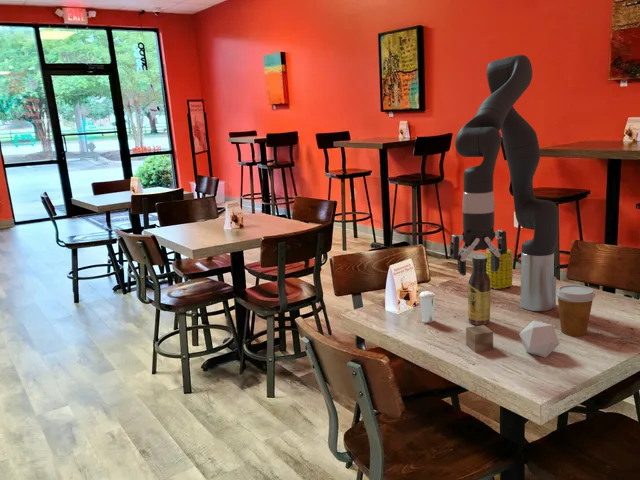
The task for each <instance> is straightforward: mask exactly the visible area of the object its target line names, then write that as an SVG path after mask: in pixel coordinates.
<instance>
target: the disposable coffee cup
mask: <svg viewBox="0 0 640 480" xmlns="http://www.w3.org/2000/svg"><path fill="white" fill-rule="evenodd" d="M595 297H596V294H595V293H594V290H593V288H591V287H589V286H585V285H579V284H564V285H560V286H558V288H557V289H556V298H557V304H558V305H557V306H558V313H559V323H560V331H561V333H563V334H564V335H567V336H570V337H571V336H572V337H582V336H585V335H587V333H588V327H589V322H590V316H591V310H592V306H593V302H594V299H595Z"/></svg>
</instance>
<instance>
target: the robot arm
mask: <svg viewBox="0 0 640 480" xmlns="http://www.w3.org/2000/svg"><path fill="white" fill-rule="evenodd" d="M486 79H487V84H488V89H489V93H490V95H489V96H488V97H486V98H485V99H484V100H483V101H482V103H481V104H480V106H479V108H478V110H477V112H476V113H475V116H473V117H472V118H471V119H469V121H467V122H466V123H465V124H464V125H463V126H462V127H461V128H460V130H458V132H457V135H456V137H455V141H454V146H455V150H456V152H457V153H458V155H460V156H462V157H464V158H482V161H481V163H480V164H479V165H475V166H471V167H467V168H465V169H464V172H463V177H462V178H463V194H462V234H454V233H452V234H451V235H450V242H449V245H450V247H449V257H450V258H451V259H454V260H456V261H457V272H458V273H459V274H460V275H461V276H466V275H467V261H466V259H467V258H468V257H469V255H471V254H472V252H473V251H474V252H476V251H477V252H478V251H480V250H482V251H487V250H489V252H490V253H491V254H492V256H491V270H492V271H494V272H497V271H498V269H499V258H500V256H501V255H502V254H506V253H507V249H508V247H507V246H508V242H507V239H508V238H507V232H506V230H503V229H500V228H499V229H497V230H494V228H495V207H496V205H495V196H494V174H495V173H494V172H495V168H496V164H497V159H498V156H499V153H500V150H501V145H503V149H504V153H505V158H506V162H507V165H508V170H509V176H510V182H511V187H512V194H513V195H512V197H513V206H514V215H515V219H516V221H517V223H518V225H519V226H520V227H521V228H523V229H527V230H533V231H534V232H533V238H532V239H529V240H525V241H523V242H522V243H521V247H520V248H521V250H520V251H521V252H520V253H521V255H520V256H521V257H520V259H521V262H520V307H521V308H523V310H524V309H525V310H527V311H532V312H533V311H534V312H546V311H549V310H550V311H551V310H552V309H554V308H555V309H556V307H557V306H556V305H557V295H556V292H557V277H556V276H554V270H555V269H554V268H555V265H554V264H555V262H554V261H555V247H556V245H557V240H558V232H559V221H560V220H559V219H560V215H559V214H560V213H559V208H558V206H557V204H556V203H555V202H554V201H552V200H548V199H547V200H546V199H537V198H536V195H535V191H534V184H533V183H534V182H533V180H534V177H535V174H536V171H537V168H538V166H539V163H540V159H541V149H540V144H539V139H538V135H537V133H536V131H535V129H534V128H533V127H532V125H531V124H530V123H529V122H528V121H527V120H526V119H525V118H523V116H522V115H520V113H519V112H518V111H517V110H516V109H515V108H514V107H515V106H514V105H515V104H516V103H517V101H518V100H519V99H520V98H521V97H522V95H524V92H525V91H526V90H528V88H529V86H530V84H531V82H532V79H533V67H532V64H531V60H530V58H529V57H528V56H527V55H524V54H517V55H512V56H507V57H504V58H500V59H496V60H492V61H490V62H489V63H488V64H487V67H486ZM494 239H497V240H496V241H497V247H496V245H495V244H494V243H493V241H494ZM462 241H463V244H462V246H461V247H460V244H461V243H462ZM459 249H460V250H459Z"/></svg>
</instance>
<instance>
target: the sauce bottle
mask: <svg viewBox="0 0 640 480" xmlns="http://www.w3.org/2000/svg"><path fill="white" fill-rule="evenodd" d="M486 263H487V257H486V255H482V254H481V255H480V254H479V255H478V254H477V255H473V256H472V271H471V274H470V277H469V279H468V282H467V284H468V285H467V288H468V289H467V317H468V322H469V323H470V324H472V325H475V326H481V325H484V326H486V325H488V324H489V323H490V321H491V320H490V319H491V301H492V300H491V299H492V298H491V295H492V294H491V292H492V290H491V289H492V288H490V278H489V276H488V274H487V273H486V271H487V269H486Z"/></svg>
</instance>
